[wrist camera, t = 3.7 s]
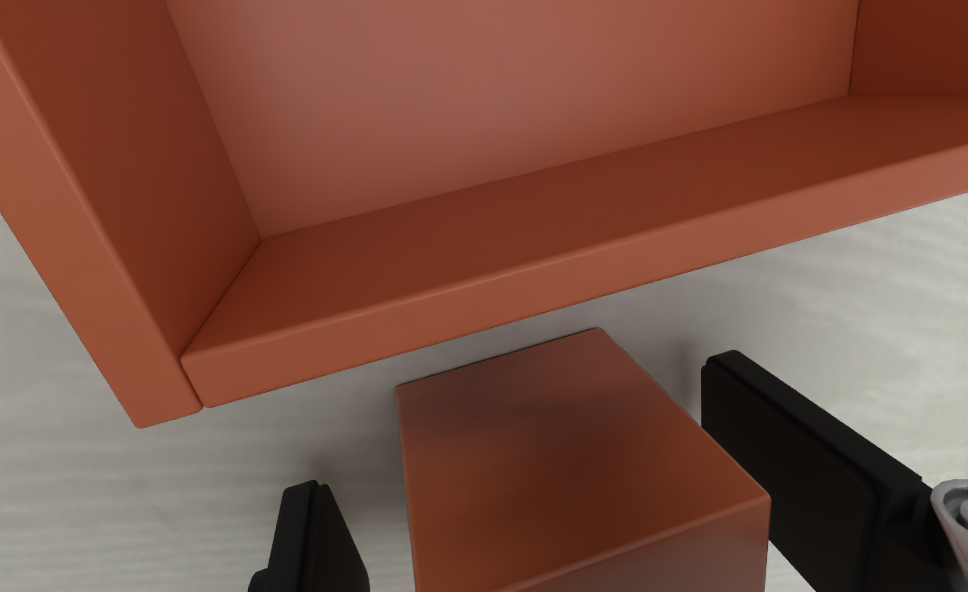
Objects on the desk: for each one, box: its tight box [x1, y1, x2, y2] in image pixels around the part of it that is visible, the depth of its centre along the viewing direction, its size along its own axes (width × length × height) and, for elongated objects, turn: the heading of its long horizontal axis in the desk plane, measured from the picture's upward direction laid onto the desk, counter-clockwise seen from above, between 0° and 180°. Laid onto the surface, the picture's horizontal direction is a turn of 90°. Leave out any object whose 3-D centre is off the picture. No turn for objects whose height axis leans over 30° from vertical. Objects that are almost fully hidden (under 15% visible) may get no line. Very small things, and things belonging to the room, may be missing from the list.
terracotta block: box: [395, 328, 772, 592], centre depth 9 cm, size 5×5×5 cm
